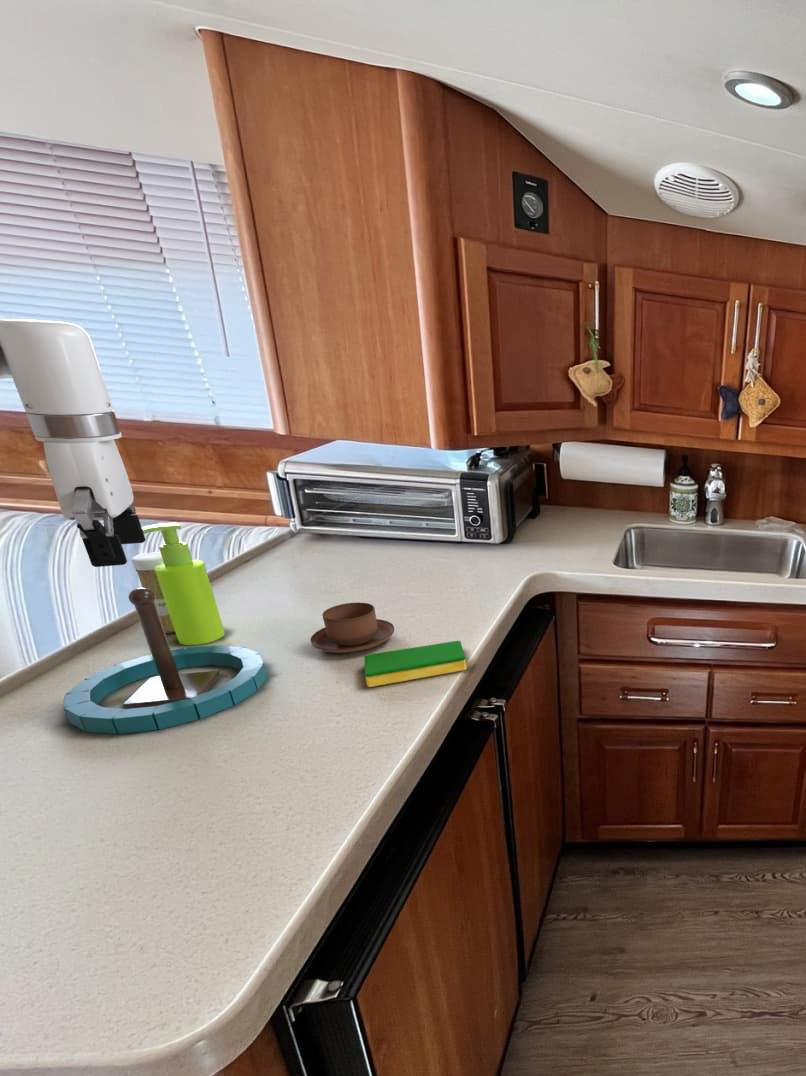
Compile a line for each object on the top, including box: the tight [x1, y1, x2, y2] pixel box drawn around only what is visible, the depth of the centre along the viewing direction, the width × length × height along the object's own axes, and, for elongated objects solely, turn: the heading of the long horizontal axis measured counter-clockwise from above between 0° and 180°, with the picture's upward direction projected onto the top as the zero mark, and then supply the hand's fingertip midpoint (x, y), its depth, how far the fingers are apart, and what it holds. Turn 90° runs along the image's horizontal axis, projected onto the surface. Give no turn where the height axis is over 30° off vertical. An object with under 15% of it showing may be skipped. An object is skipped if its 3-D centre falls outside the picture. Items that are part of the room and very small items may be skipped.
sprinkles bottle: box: [131, 551, 176, 634], centre depth 107 cm, size 5×5×13 cm
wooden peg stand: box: [122, 587, 221, 709], centre depth 90 cm, size 8×8×16 cm
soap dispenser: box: [141, 522, 226, 646], centre depth 104 cm, size 6×7×20 cm
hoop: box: [62, 644, 268, 735], centre depth 92 cm, size 21×21×2 cm
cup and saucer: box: [310, 602, 395, 654], centre depth 109 cm, size 12×12×6 cm
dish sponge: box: [364, 640, 468, 688], centre depth 104 cm, size 7×14×2 cm, turn 123°
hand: (120, 553), depth 87 cm, fingers open, 9 cm apart
